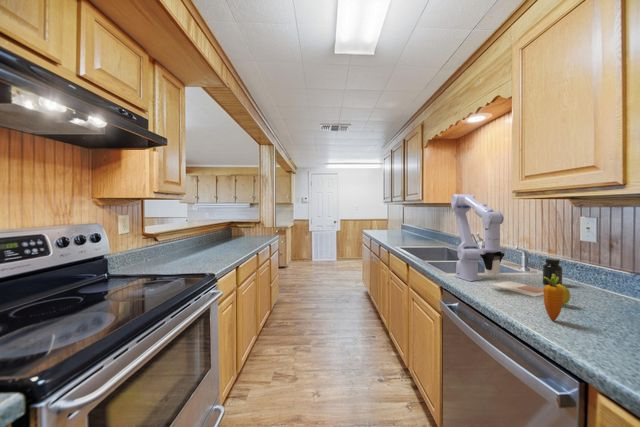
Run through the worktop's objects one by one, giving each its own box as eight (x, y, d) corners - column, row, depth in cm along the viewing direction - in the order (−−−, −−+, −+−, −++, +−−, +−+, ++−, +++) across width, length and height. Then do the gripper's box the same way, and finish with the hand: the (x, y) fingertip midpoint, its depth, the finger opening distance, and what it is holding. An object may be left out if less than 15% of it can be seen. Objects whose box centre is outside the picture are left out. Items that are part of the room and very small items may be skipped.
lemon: (574, 308, 96) (574, 286, 96) (558, 308, 96) (558, 286, 96) (560, 302, 101) (560, 281, 101) (545, 302, 102) (546, 281, 101)
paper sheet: (491, 285, 124) (491, 284, 124) (510, 281, 129) (510, 280, 129) (534, 297, 108) (534, 295, 108) (554, 292, 112) (554, 291, 112)
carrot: (556, 325, 82) (556, 277, 82) (539, 318, 87) (539, 273, 87) (567, 323, 84) (568, 275, 83) (549, 316, 89) (550, 272, 88)
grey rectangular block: (484, 273, 119) (484, 255, 119) (490, 272, 121) (490, 254, 121) (493, 275, 116) (493, 257, 116) (499, 274, 117) (499, 256, 117)
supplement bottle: (561, 284, 124) (561, 258, 124) (563, 288, 119) (563, 261, 119) (542, 282, 128) (542, 257, 128) (543, 285, 123) (543, 259, 123)
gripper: (489, 240, 112) (489, 272, 112) (512, 238, 117) (512, 269, 117) (474, 238, 118) (474, 269, 118) (496, 237, 124) (496, 266, 124)
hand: (492, 269), depth 118 cm, fingers closed on grey rectangular block, 4 cm apart
